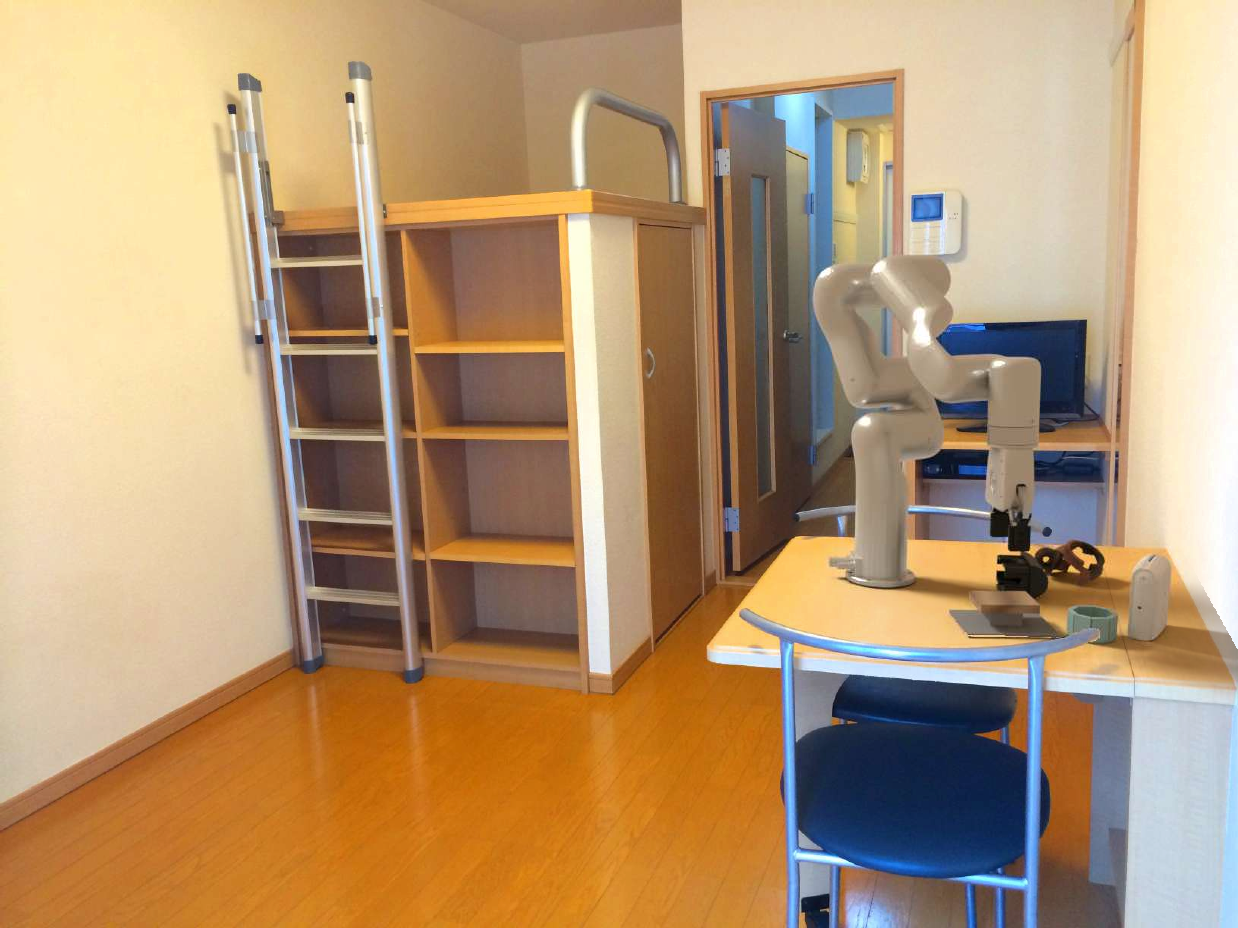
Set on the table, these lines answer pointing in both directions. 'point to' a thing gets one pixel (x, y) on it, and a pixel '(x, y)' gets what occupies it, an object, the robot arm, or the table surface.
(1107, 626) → the ceramic bowl
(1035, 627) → the rubber mat
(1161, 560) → the photo printer
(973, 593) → the walnut board
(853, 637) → the table surface
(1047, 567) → the brown piece
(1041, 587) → the end cap
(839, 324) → the robot arm
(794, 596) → the table surface
